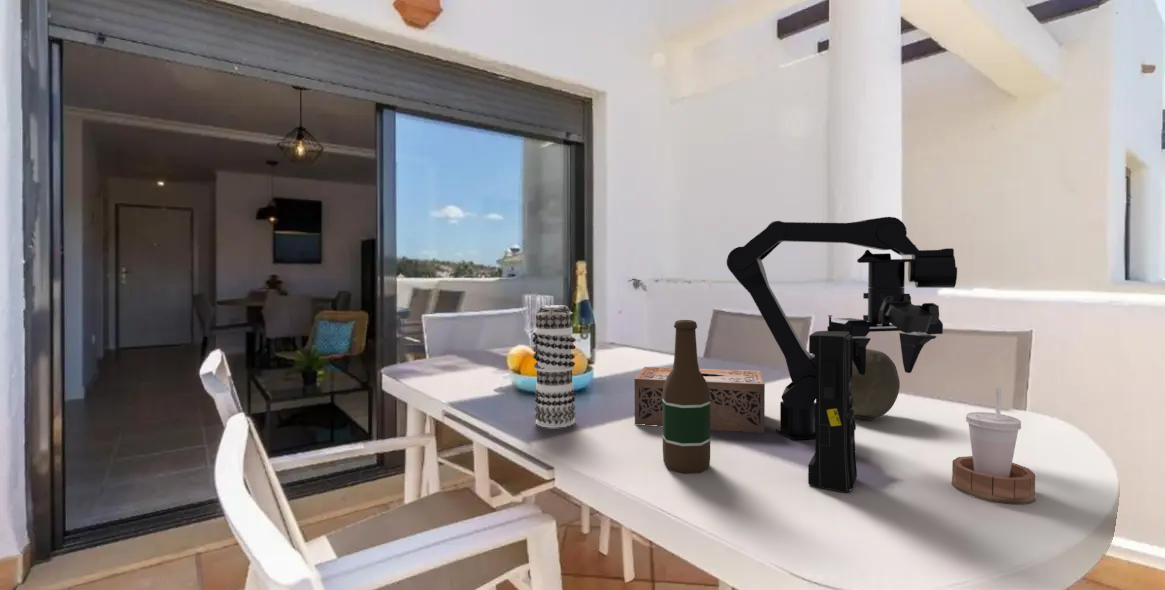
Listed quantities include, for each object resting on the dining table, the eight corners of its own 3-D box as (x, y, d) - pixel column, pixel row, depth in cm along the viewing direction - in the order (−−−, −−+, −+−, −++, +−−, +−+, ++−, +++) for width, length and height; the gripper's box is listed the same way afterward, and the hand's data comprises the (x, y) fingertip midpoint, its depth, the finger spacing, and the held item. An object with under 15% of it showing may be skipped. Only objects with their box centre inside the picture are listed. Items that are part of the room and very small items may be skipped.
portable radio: (852, 497, 76) (854, 320, 74) (806, 488, 79) (807, 318, 78) (857, 478, 82) (859, 316, 81) (815, 471, 85) (816, 314, 84)
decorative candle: (524, 424, 113) (522, 306, 112) (551, 414, 121) (550, 304, 120) (559, 431, 108) (557, 307, 107) (585, 420, 116) (583, 305, 115)
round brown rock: (915, 426, 109) (916, 352, 108) (845, 426, 109) (845, 353, 109) (878, 408, 123) (878, 343, 122) (816, 409, 123) (816, 344, 123)
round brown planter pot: (992, 506, 72) (993, 482, 72) (935, 479, 82) (936, 458, 81) (1054, 501, 74) (1054, 477, 73) (991, 475, 83) (991, 454, 83)
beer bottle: (712, 459, 91) (712, 318, 90) (707, 476, 84) (707, 323, 83) (666, 455, 94) (666, 318, 92) (658, 471, 86) (657, 322, 85)
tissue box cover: (634, 426, 112) (634, 378, 112) (644, 408, 126) (644, 366, 126) (764, 434, 106) (764, 384, 105) (759, 415, 120) (760, 370, 119)
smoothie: (1018, 496, 73) (1021, 394, 73) (961, 484, 78) (963, 388, 77) (1020, 482, 78) (1023, 387, 78) (966, 471, 82) (968, 381, 82)
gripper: (868, 290, 88) (867, 385, 88) (970, 288, 90) (968, 380, 91) (828, 288, 99) (827, 372, 99) (919, 286, 101) (918, 368, 102)
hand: (885, 373), depth 98 cm, fingers open, 9 cm apart
